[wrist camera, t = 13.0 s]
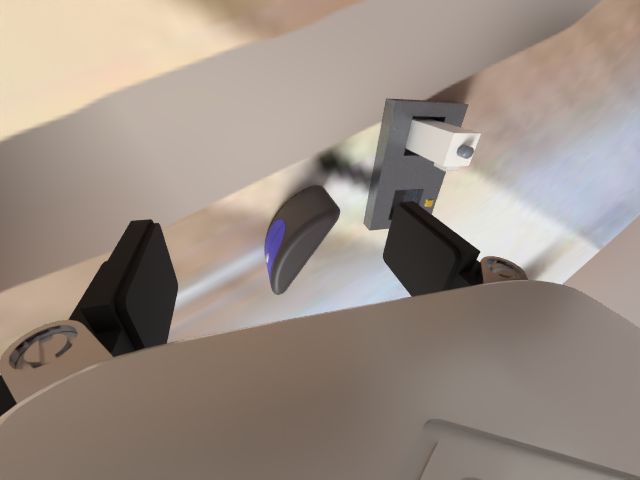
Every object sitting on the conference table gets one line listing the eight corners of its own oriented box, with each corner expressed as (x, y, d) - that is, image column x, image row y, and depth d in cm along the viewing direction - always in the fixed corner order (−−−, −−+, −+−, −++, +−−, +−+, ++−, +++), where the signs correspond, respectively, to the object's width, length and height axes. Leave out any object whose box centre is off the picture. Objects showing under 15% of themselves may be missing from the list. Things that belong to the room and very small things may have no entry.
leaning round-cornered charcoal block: (301, 172, 39) (318, 198, 32) (324, 186, 42) (346, 214, 34) (249, 253, 44) (254, 293, 37) (273, 262, 47) (282, 300, 39)
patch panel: (386, 98, 37) (396, 101, 34) (456, 102, 40) (469, 104, 38) (363, 223, 48) (370, 231, 45) (420, 218, 51) (429, 225, 49)
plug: (407, 118, 39) (461, 135, 30) (430, 118, 40) (488, 135, 31) (400, 151, 42) (447, 176, 33) (421, 151, 43) (473, 174, 34)
